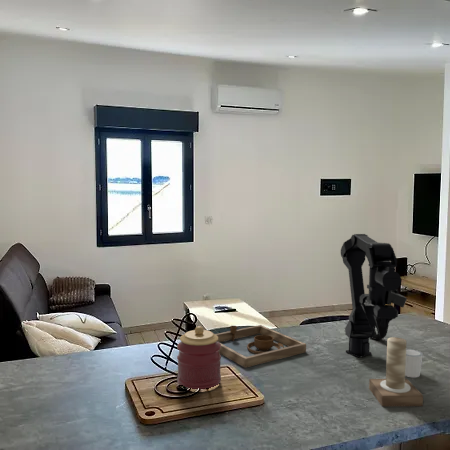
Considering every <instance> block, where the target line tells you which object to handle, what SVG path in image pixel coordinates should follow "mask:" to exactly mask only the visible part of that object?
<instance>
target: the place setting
mask: <svg viewBox="0 0 450 450" xmlns="http://www.w3.org/2000/svg"><path fill="white" fill-rule="evenodd" d="M229 328H230V329H229V331H230V332H231V333H232V335H233V336H232V340H231V341H233V342H234V341H235V340H236V339H235V336H234V335H235V333H236V332H237V330H238V329H237V328H238V326H237V325H231V326H230V327H229ZM253 340H254V341H251V342H249V343H248V344H247V345H246V346H247V350H248V351H249V352H250V353H252V354H253V355H256V354H260V353H265V352H269V351H270V349H272V348H273V347H275V348H277V349H281V348H285V347H284V344H282V343H280V342H274V341H275V340H274V338H273V337H272V336H269V335H262V334H256V335H254V337H253ZM252 347H255V348H257V349H258V350H259V351H258V350H255V349H252Z"/></svg>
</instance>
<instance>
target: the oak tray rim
mask: <svg viewBox="0 0 450 450" xmlns="http://www.w3.org/2000/svg"><path fill="white" fill-rule="evenodd" d="M214 334H215V335H217V336H218V340H217V341H218V342H219V343H220V344H221V348H220V349H219V354H220V355H221V356H223V357H225V358H227V359H229V360H231V361H232V362H234V363H236V364H238V365H239V366H241V367H243V368H245V369H246V368H250V367H253V366H257V365H262V364H265V363H269V362H273V361H277V360H281V359H286V358H289V357H293V356H296V355H300V354H305V353H307V343H304V342H303V341H300V340H298V339H295V338H293V337H290V336H288V335H285V334H283V333H281V332H278V331H276V330H274V329H272V328H269V327H267V326H264V325H262V324H259V325H254V326H250V327H244V328H240V329H237V332H236V333H235V335H234V336H235V339H234V340H237V339H242V338H245V337H246V338H247V337H251V336H257V335H269V336H272V337H273V338H274V341H276V342H277V343H282V344H283V345H285V346H287V347H284V348H283V347H280V349H278V348H277V349H273V350H268V351H264V352H265V353H260V354H252V355H248V356H245V355H243V354H241V353H240V352H239V351H236V350H234V349H233V348H230V347H228V346H226V345H225V344H223V343H222V342H227V341H232V340H233V339H232V336H233V335H232V333H231V332H230V330H228V331H224V332H219V333H214Z"/></svg>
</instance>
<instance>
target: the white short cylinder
mask: <svg viewBox="0 0 450 450" xmlns="http://www.w3.org/2000/svg"><path fill="white" fill-rule="evenodd" d="M423 355H424V353H423V352H422V351H420V350H417V349H413V348H406V366H405V377H407V378H419V377H420V375H421V370H422V363H423Z"/></svg>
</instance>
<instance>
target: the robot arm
mask: <svg viewBox="0 0 450 450" xmlns="http://www.w3.org/2000/svg"><path fill="white" fill-rule="evenodd" d="M340 256H341V258H342V262H343V264H344V265H345V267H346V269H348V277H349V286H350V287H349V289H350V297H351V307H352V310H351V312H350V313H349V316H348V321H347V324H346V326H345V327H344V331H345V336H347V337H348V349H346V350H345V353H347V354H350V355H351V356H355V357H357V358H362V357H366V356H369V355H372V352H371V351H370V348H371V347H370V345H371V344H370V343H371V342H370V339H373V336H374V331H376V329H377V328H378V332H379V335H380V337H384V335H385V332H386V329H387V326H388V325H390V322H391V321H392V320H396V318H398V317H399V309H397V308H396V307H395V306H393V305H392V304H394V305H396V306H399V307H400V308H404V307H405V305H406V302H407V299H408V298H407V297H406V296H404V295H402V294H400V293H399V290H398V288H399V287H401V284H402V277H401V275H400V273H398V272H397V271H396V268H397V267H398V258H397V255H396V253H395V251H394V248H393V246H392V245H391V244H390V243H389V242H388V243H387V242H378V241H377V240H375V239H372V238H371V237H370V236H369V235H368V234H366V233H354V234H352V235H351V237H350V238H349V239H347V240H346V241H344V242H343V244H342V246H341V248H340ZM366 259H367V262H368V267H369V268H368V269H369V273H368V274H369V275H368V284H366V288H367V289H368V293H365V285H364V284H365V283H364V276H363V268H362V267H363V265H364V263H365V262H366ZM375 322H376V325H377V328H376V327H375ZM388 327H389V326H388ZM384 338H385V337H384Z"/></svg>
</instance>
